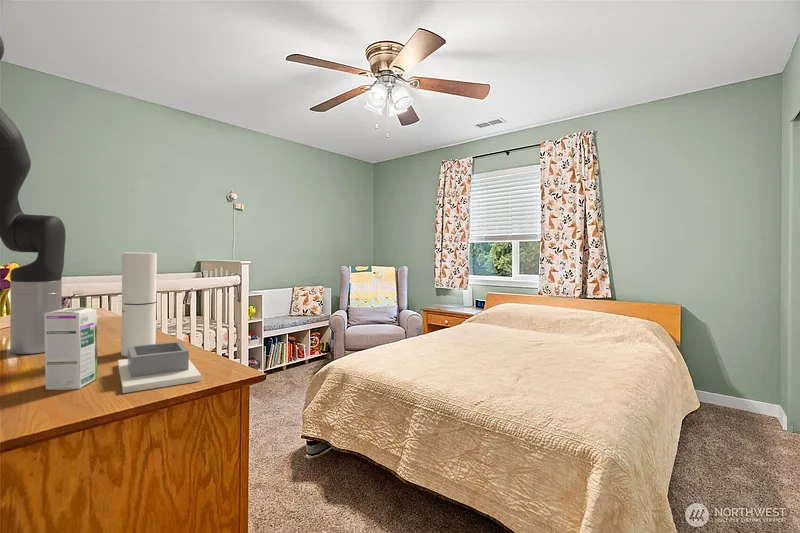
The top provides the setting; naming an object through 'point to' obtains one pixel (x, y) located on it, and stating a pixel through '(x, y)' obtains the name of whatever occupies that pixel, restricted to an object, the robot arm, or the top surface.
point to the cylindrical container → (138, 299)
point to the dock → (156, 367)
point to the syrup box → (70, 348)
